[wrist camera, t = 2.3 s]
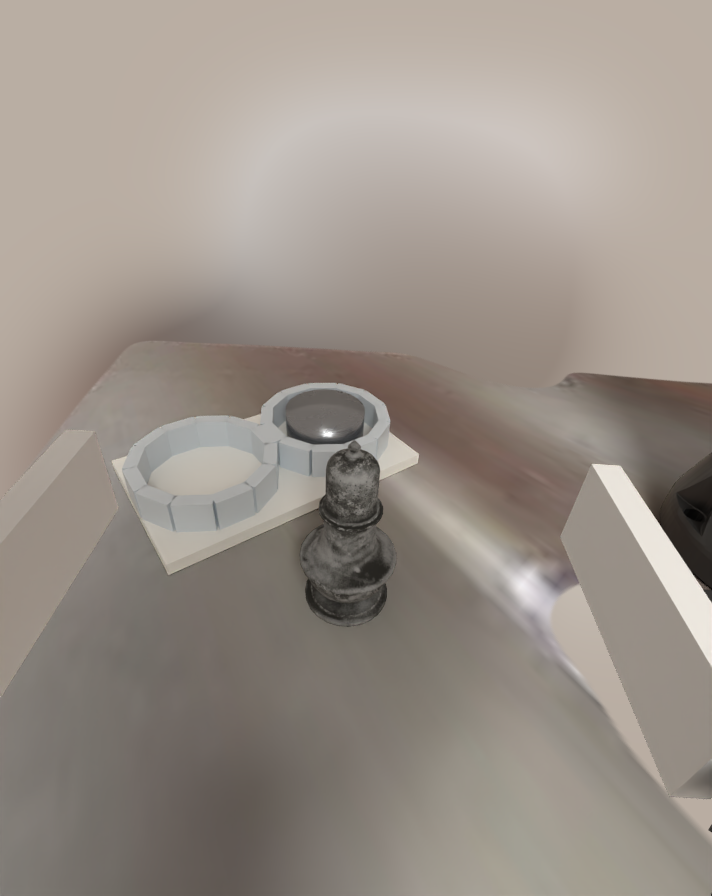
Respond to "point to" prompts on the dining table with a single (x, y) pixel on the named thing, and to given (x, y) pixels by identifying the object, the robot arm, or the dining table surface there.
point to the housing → (239, 475)
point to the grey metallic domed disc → (325, 417)
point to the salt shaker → (348, 543)
